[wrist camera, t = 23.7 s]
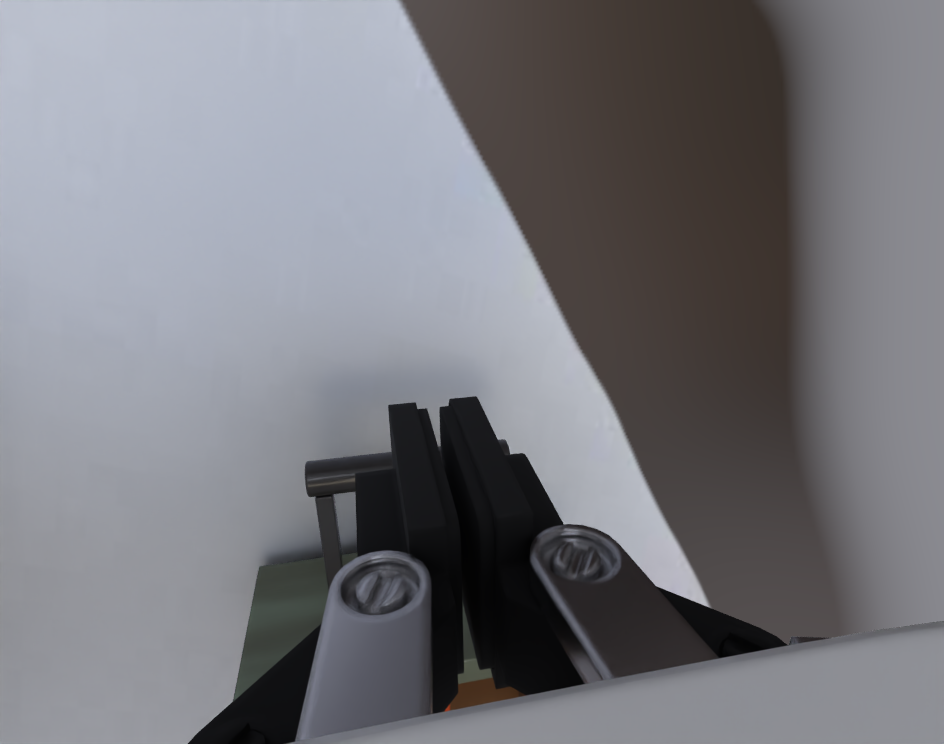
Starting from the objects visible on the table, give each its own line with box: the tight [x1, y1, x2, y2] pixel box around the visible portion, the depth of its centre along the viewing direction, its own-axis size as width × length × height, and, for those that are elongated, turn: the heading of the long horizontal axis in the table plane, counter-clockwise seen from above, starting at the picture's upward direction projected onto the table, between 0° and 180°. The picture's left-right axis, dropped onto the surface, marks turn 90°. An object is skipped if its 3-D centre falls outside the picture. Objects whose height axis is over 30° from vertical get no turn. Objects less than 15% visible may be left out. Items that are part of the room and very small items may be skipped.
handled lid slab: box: [233, 439, 525, 710], centre depth 25 cm, size 21×13×7 cm, turn 0°
